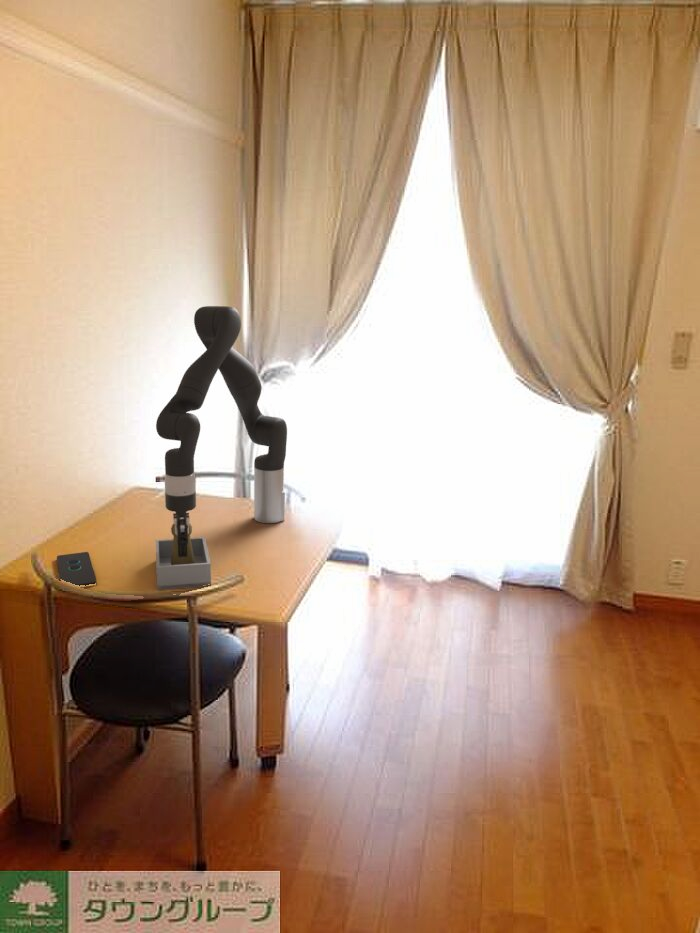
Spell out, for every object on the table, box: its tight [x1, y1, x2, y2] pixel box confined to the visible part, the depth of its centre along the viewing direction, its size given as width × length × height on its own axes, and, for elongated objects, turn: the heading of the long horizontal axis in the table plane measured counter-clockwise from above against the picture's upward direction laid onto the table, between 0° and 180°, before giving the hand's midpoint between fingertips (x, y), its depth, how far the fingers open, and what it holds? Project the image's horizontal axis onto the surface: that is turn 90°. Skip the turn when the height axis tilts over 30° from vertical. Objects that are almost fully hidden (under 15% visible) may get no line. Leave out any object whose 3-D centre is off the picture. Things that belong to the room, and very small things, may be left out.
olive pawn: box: [170, 522, 194, 565], centre depth 178 cm, size 6×6×11 cm
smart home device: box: [56, 551, 97, 586], centre depth 178 cm, size 8×2×20 cm
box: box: [155, 536, 212, 591], centre depth 179 cm, size 13×18×6 cm
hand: (182, 552), depth 178 cm, fingers closed on olive pawn, 4 cm apart
